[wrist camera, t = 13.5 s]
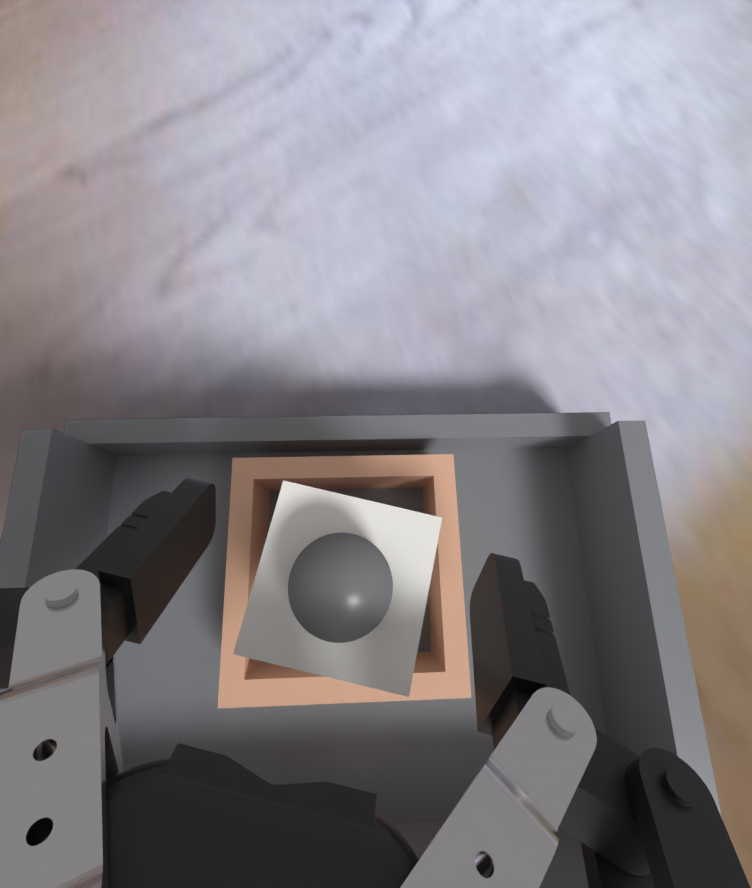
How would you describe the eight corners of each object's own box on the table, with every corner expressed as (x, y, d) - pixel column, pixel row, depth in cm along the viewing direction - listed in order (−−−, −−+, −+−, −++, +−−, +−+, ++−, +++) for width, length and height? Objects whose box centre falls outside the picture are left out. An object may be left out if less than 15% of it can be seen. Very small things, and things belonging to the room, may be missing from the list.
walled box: (52, 857, 16) (-86, 994, 11) (109, 439, 20) (27, 402, 15) (632, 825, 17) (745, 938, 12) (574, 432, 20) (639, 394, 16)
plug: (386, 631, 17) (414, 714, 8) (290, 608, 17) (218, 665, 8) (407, 532, 18) (451, 514, 9) (316, 511, 18) (275, 472, 9)
